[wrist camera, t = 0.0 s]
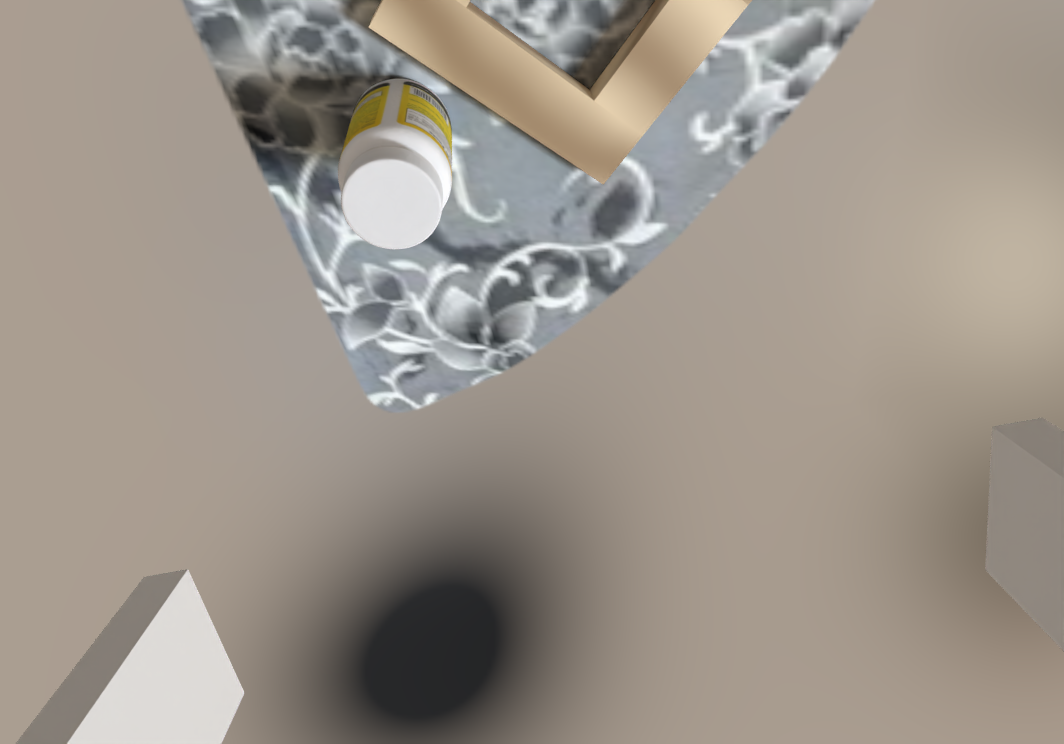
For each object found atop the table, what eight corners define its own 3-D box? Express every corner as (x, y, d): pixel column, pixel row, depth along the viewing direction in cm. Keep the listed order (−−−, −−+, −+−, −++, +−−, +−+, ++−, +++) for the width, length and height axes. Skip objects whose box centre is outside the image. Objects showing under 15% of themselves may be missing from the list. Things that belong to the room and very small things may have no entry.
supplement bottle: (358, 171, 36) (336, 258, 30) (347, 74, 33) (320, 148, 27) (453, 172, 36) (452, 258, 30) (451, 77, 33) (449, 149, 27)
